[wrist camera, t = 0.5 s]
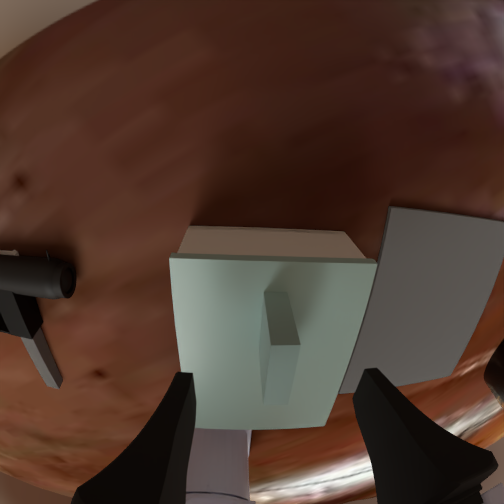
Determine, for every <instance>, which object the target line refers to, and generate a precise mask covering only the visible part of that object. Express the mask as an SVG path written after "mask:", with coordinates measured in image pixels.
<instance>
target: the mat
mask: <svg viewBox="0 0 504 504" xmlns="http://www.w3.org/2000/svg"><path fill="white" fill-rule="evenodd" d="M503 258H504V221H500V220H494V219H487V218H481V217H474V216H467V215H460V214H453V213H446V212H438V211H430V210H422V209H413V208H404V207H395V206H389V208H388V214H387V219H386V224H385V229H384V234H383V239H382V243H381V248H380V252H379V257H378V261H377V268H376V272H375V276H374V280H373V284H372V288H371V292H370V296H369V299H368V303H367V306H366V310H365V313H364V317H363V320H362V323H361V327H360V330H359V333H358V336H357V339H356V343H355V346H354V349H353V352H352V355H351V358H350V361H349V363H348V366H347V369H346V372H345V375H344V378H343V380H342V383H341V386H340V388H339V391H338V393H339V394H344V393H353V392H355V391H356V389H357V386H358V384H359V381H360V379H361V376H362V374H363V371H364V369H367V368H376V367H377V368H378V369H379V370H380V371H381V372H382V373H383V374H384V375H385V376H386V377H387V378H388V380H389V381H390V382H391V383H392V384H393V385H394V386H395V387H396V386H402V385H408V384H413V383H418V382H424V381H428V380H433V379H438V378H442V377H447V376H450V375H451V373H452V371H453V370H454V368H455V366H456V364H457V363H458V361H459V359H460V357H461V355H462V354H463V352H464V350H465V348H466V346H467V344H468V342H469V340H470V338H471V336H472V334H473V332H474V330H475V328H476V326H477V324H478V321H479V319H480V317H481V315H482V312H483V310H484V308H485V306H486V303H487V301H488V298H489V296H490V293H491V291H492V288H493V286H494V283H495V281H496V278H497V275H498V272H499V270H500V267H501V264H502V261H503Z"/></svg>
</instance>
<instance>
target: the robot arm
mask: <svg viewBox="0 0 504 504" xmlns="http://www.w3.org/2000/svg"><path fill="white" fill-rule="evenodd" d="M353 404H354V409H355V414H356V418H357V421H358V424H359V427H360V430H361V433H362V436H363V439H364V442H365V445H366V448H367V451H368V454H369V457H370V460H371V464H372V469H373V474H374V479H375V486H376V493H377V502H378V504H504V486H503V484H502V483H500V484H498V485H496V486H495V487H493V488H491V489H490V490H488V491H486V492H485V493H483V494H482V495H480V492H479V491H480V490H482V486H481V484H480V483H481V482H482V481H484V480H485V479H486V478H488V476H490V475H491V474H492V473H493V472H494V471H495V470H496V469H497V467H498V463H497V461H496V459H495V457H494V455H493V453H492V452H491V451H488V450H486V449H483V448H480V447H477V446H475V445H472V444H470V443H468V442H466V441H464V440H462V439H460V438H458V437H456V436H455V435H453V434H451V433H450V432H448V431H446V430H445V429H443V428H442V427H440V426H439V425H438V424H436V423H435V422H434V421H432V420H431V419H429V418H428V417H427V416H426V415H425V414H423V413H422V412H421V411H420V410H419V409H418V408H417V407H415V406H414V405H413V404H412V403H411V402H410V401H409V400H408V399H407V398H406V397H405V396H404V395H403V394H402V393H401V392H400V391H399V390H398V389H397V388H396V387H395V386H394V385H393V384H392V383H391V382H390V381H389V380H388V378H387V377H386V376H385V375H384V374H383V373H382V372H381V371H380V370H379V369H378V368H377V367H376V368H367V369H364V371H363V374H362V376H361V379H360V381H359V384H358V386H357V389H356V391H355V393H354V396H353ZM196 406H197V401H196V394H195V386H194V377H193V373H189V372H177V373H176V374H175V376H174V379H173V381H172V383H171V385H170V387H169V389H168V391H167V392H166V394H165V396H164V398H163V399H162V401H161V403H160V404H159V406H158V407H157V409H156V411H155V412H154V414H153V415H152V417H151V418H150V419H149V421H148V422H147V424H146V425H145V426H144V428H143V429H142V430H141V432H140V433H139V434H138V435H137V437H136V438H135V439H134V440H133V441H132V442H131V443H130V445H129V446H128V447H127V448H126V449H125V450H124V451H123V452H122V453H121V454H120V455H119V456H118V457H117V458H116V459H115V460H114V461H113V462H111V463H110V464H109V465H108V466H107V467H105V468H104V469H103V470H102V471H101V472H99V473H98V474H97V475H96V476H94V477H93V478H91V479H90V480H88V481H87V482H85V483H84V484H82V485H81V486H79V487H78V488H77V490H76V492H75V494H74V496H73V498H72V501H71V504H256V503H255V501H250V492H249V469H248V457H249V450H250V441H251V431H252V430H231V429H205V428H195V422H196Z"/></svg>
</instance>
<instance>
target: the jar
mask: <svg viewBox="0 0 504 504" xmlns="http://www.w3.org/2000/svg"><path fill="white" fill-rule="evenodd" d="M484 380H485V382H486V384H487V385H488V387H489V388H490V390H491V392H492V393H493V395H494V396H495V398H496V399H497V401H498V402H499V404H500V405H501V407H502V408H503V410H504V340H503V342H502V343H501V344H500V346H499V347H498V348H497V350H496V351H495V353H494V354H493V356H492V358H491V359H490V361H489V363H488V365H487V367H486V370H485V373H484Z"/></svg>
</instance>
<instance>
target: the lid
mask: <svg viewBox="0 0 504 504" xmlns="http://www.w3.org/2000/svg"><path fill="white" fill-rule="evenodd" d="M169 262H170V275H171V287H172V298H173V308H174V317H175V326H176V335H177V343H178V351H179V358H180V365H181V372H189V373H193V377H194V386H195V394H196V401H197V406H196V422H195V428H205V429H231V430H264V429H290V428H305V427H317V426H325V423H326V421H327V419H328V416H329V414H330V411H331V409H332V406H333V404H334V401H335V399H336V396H337V394H338V391H339V388H340V386H341V383H342V380H343V378H344V375H345V372H346V369H347V366H348V363H349V361H350V358H351V355H352V352H353V349H354V346H355V343H356V339H357V336H358V333H359V330H360V327H361V323H362V320H363V317H364V313H365V310H366V306H367V303H368V299H369V296H370V292H371V288H372V284H373V280H374V276H375V272H376V268H377V263H376V261H375V260H374V259H364V258H328V257H292V256H258V255H224V254H192V253H171V255H170V258H169Z"/></svg>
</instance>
